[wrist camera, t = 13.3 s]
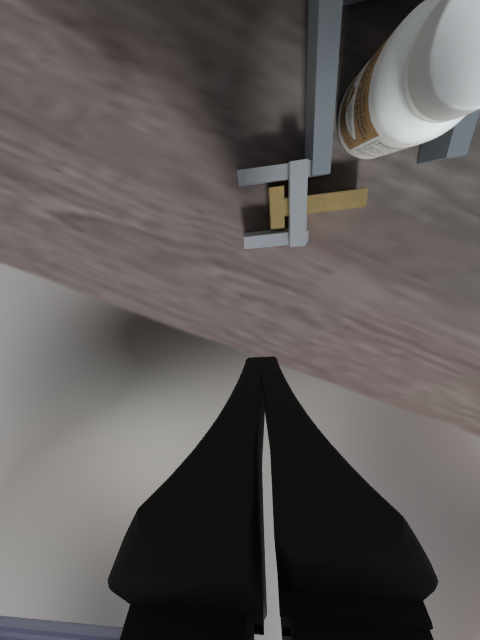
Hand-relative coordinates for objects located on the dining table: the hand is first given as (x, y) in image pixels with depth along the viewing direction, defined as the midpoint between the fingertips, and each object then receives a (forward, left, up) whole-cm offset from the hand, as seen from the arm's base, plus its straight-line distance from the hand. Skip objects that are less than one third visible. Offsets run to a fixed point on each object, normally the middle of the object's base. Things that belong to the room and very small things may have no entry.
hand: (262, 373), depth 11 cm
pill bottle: (-8, -11, -10) cm, 17 cm away
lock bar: (-4, -6, -10) cm, 12 cm away
